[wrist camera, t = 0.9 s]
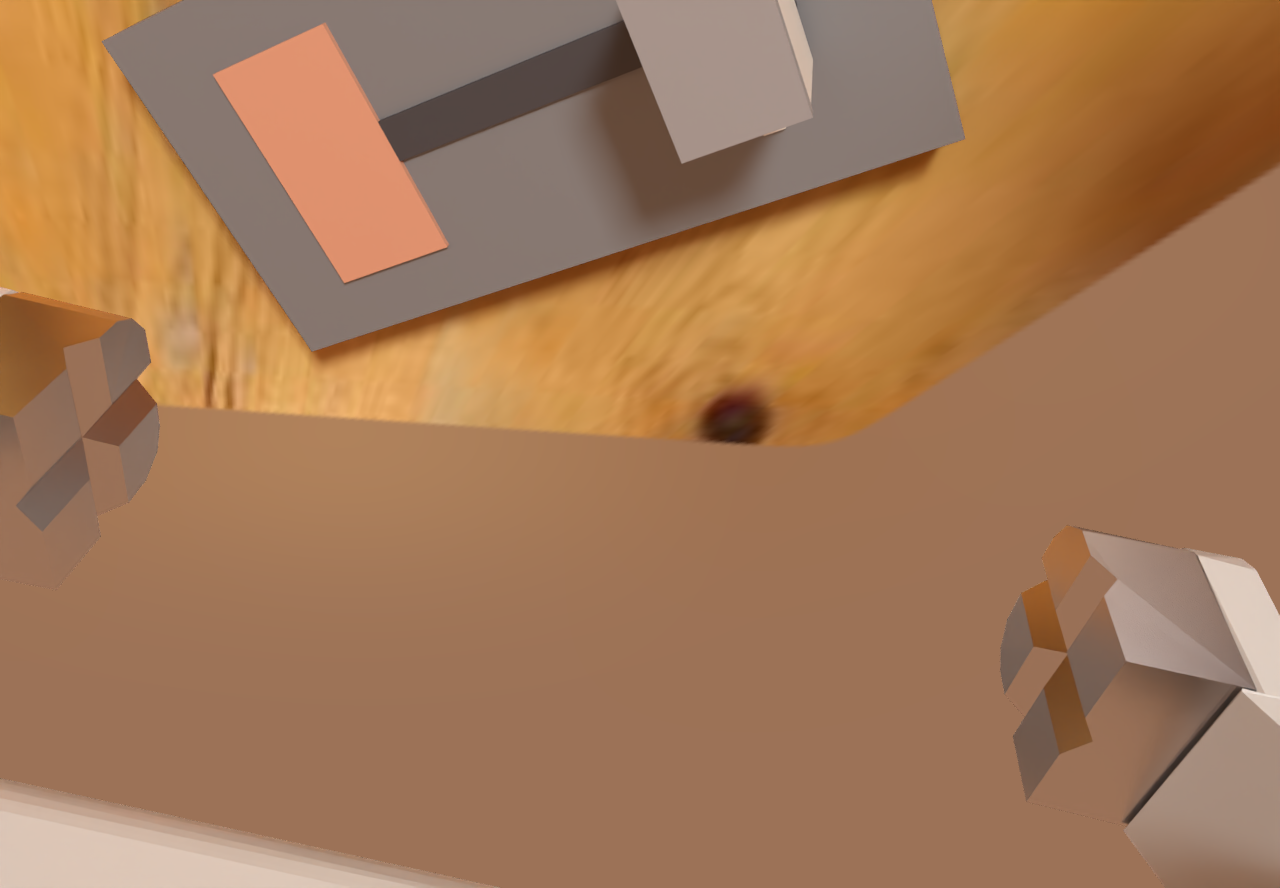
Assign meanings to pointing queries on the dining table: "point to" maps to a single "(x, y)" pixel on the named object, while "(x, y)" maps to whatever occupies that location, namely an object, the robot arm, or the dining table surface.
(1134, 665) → the robot arm
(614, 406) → the dining table surface
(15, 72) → the dining table surface
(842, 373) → the dining table surface
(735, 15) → the fader knob
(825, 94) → the console board
